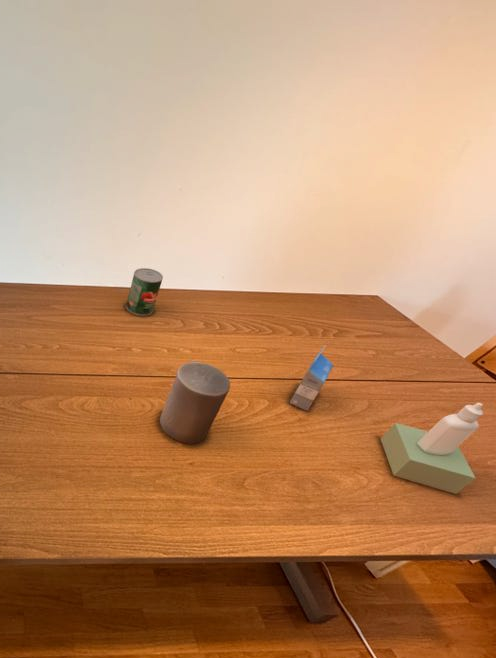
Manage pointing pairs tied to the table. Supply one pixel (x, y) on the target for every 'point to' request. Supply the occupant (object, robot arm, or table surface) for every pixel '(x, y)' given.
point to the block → (424, 461)
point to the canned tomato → (144, 291)
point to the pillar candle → (194, 402)
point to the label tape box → (312, 382)
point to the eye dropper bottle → (451, 431)
